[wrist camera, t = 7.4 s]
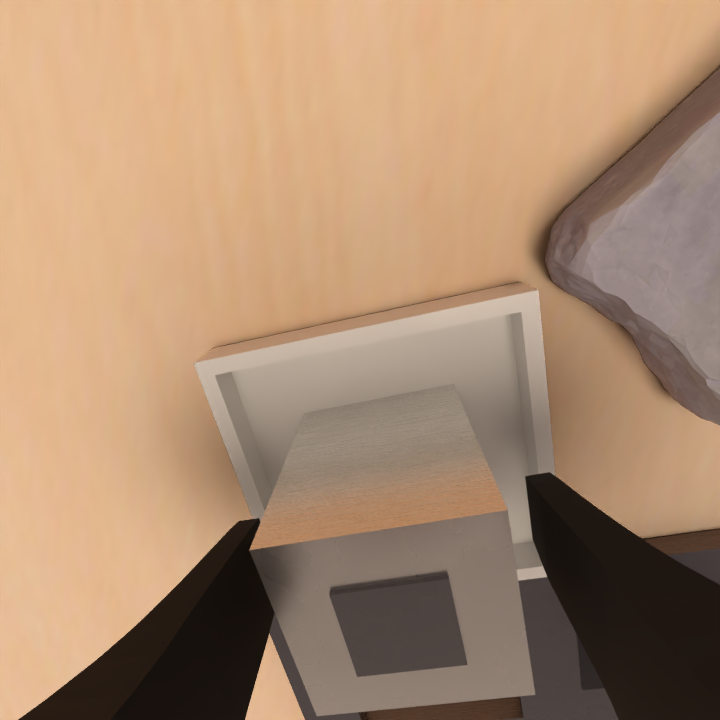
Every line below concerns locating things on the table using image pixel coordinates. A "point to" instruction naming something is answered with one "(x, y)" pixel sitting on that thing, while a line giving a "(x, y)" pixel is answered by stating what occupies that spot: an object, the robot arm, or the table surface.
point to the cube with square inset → (394, 559)
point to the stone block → (656, 249)
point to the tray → (396, 388)
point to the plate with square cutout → (533, 655)
